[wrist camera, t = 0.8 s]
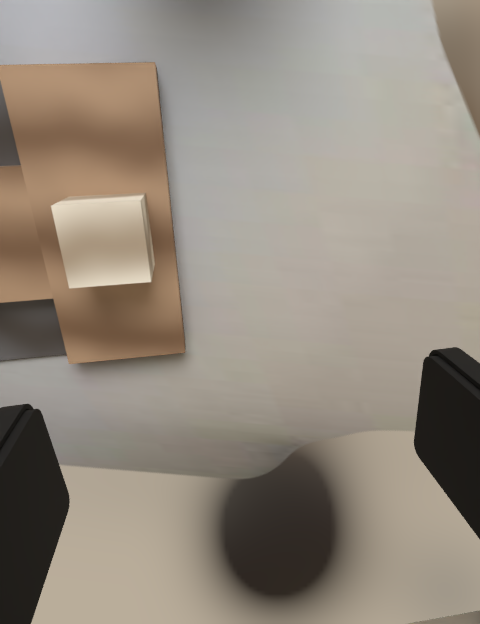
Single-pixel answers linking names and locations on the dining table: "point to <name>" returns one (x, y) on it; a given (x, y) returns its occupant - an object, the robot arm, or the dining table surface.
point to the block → (105, 239)
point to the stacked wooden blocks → (82, 182)
